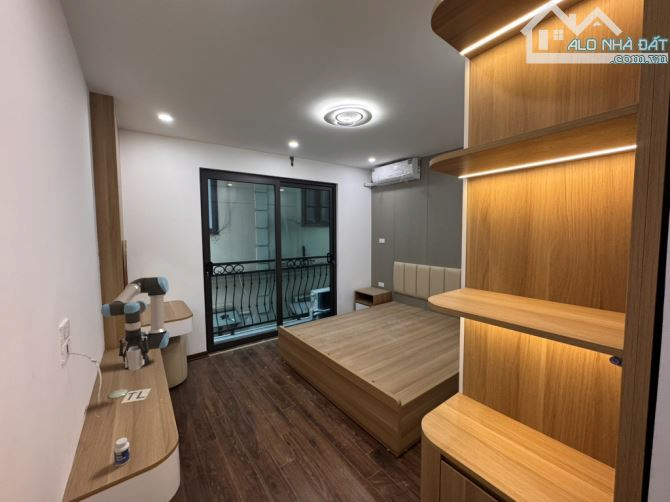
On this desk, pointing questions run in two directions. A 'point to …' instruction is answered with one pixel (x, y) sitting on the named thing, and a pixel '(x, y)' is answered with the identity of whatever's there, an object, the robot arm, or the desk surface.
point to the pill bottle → (121, 452)
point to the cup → (134, 358)
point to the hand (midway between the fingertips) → (135, 365)
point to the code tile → (136, 395)
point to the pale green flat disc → (118, 393)
